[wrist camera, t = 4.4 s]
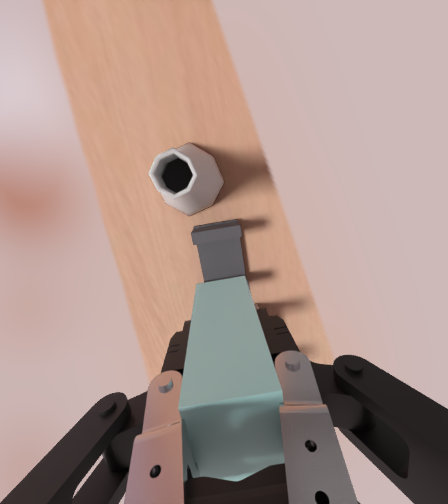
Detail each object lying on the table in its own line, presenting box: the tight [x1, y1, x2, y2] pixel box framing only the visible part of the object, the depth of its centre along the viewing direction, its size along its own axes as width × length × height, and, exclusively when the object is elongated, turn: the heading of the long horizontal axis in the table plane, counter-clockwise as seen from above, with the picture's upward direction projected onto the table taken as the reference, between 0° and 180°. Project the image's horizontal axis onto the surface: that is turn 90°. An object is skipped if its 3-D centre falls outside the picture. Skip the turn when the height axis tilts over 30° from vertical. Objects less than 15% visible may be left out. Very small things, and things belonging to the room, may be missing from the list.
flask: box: [149, 143, 224, 216], centre depth 21 cm, size 7×7×10 cm
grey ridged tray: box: [191, 219, 250, 290], centre depth 26 cm, size 8×5×4 cm, turn 10°
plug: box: [178, 276, 285, 481], centre depth 11 cm, size 4×3×8 cm
